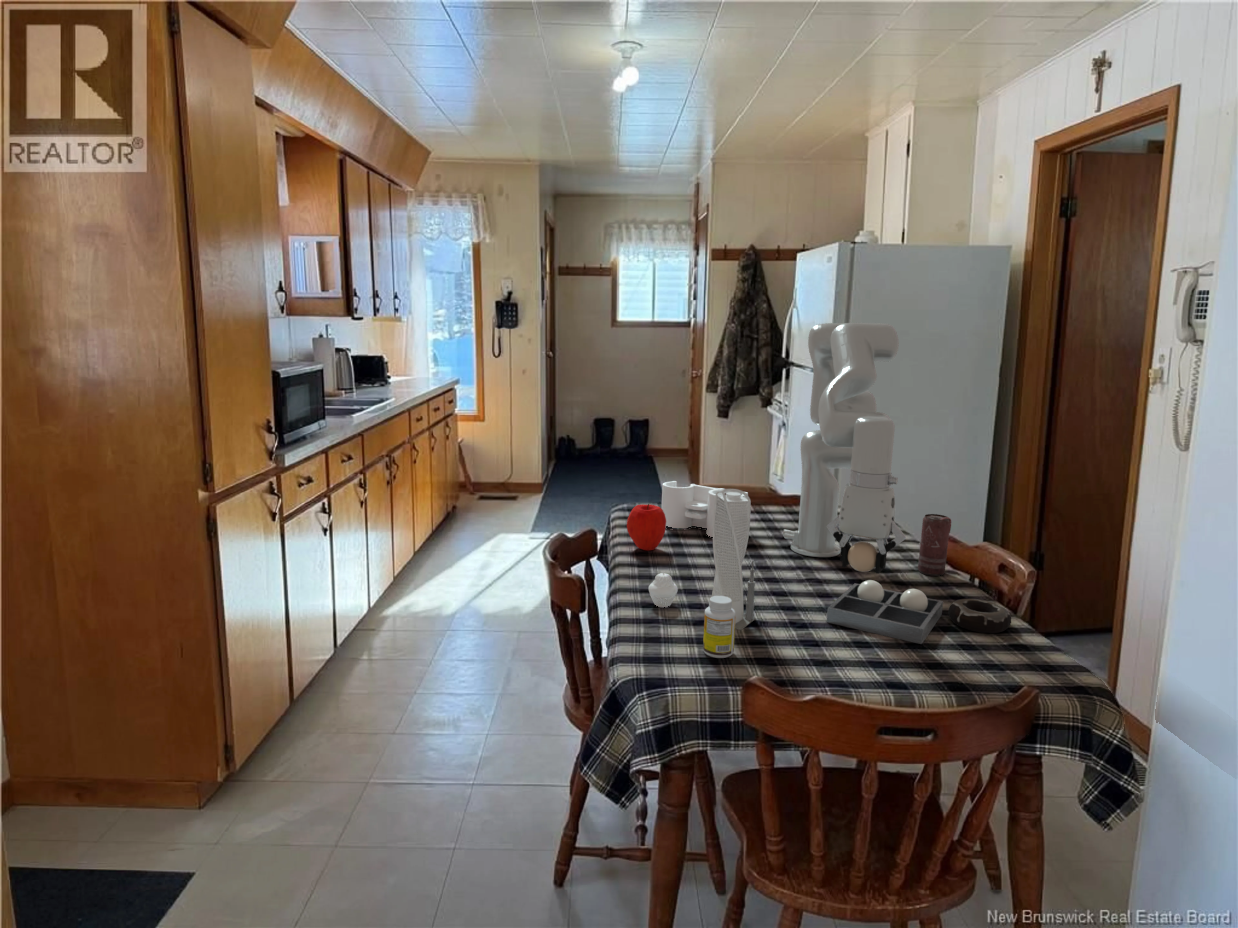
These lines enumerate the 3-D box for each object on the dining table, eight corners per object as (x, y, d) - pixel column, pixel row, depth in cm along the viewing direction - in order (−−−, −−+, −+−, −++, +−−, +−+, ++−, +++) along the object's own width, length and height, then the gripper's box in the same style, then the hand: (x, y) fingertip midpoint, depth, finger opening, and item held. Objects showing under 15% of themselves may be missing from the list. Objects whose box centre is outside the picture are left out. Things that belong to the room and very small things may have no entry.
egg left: (853, 606, 170) (855, 581, 169) (860, 598, 175) (862, 574, 174) (879, 611, 167) (881, 586, 166) (885, 604, 172) (888, 579, 171)
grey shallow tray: (826, 622, 162) (827, 607, 162) (853, 596, 178) (854, 583, 177) (921, 644, 153) (923, 629, 152) (941, 614, 168) (943, 601, 168)
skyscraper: (738, 633, 156) (746, 492, 151) (700, 624, 160) (707, 486, 155) (755, 620, 163) (763, 484, 158) (718, 611, 167) (725, 479, 162)
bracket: (653, 526, 230) (655, 485, 228) (671, 520, 238) (672, 479, 236) (733, 542, 216) (736, 498, 214) (749, 535, 224) (751, 492, 222)
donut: (938, 613, 170) (940, 594, 169) (995, 615, 169) (997, 597, 169) (959, 635, 158) (961, 615, 157) (1020, 637, 158) (1023, 618, 157)
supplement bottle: (713, 643, 150) (716, 591, 148) (739, 652, 147) (742, 599, 145) (696, 652, 146) (699, 599, 144) (722, 662, 143) (725, 607, 141)
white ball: (895, 615, 166) (898, 590, 165) (902, 607, 170) (904, 583, 169) (923, 621, 163) (925, 595, 162) (929, 613, 167) (931, 588, 166)
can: (947, 577, 192) (954, 520, 189) (919, 575, 193) (925, 518, 191) (943, 569, 198) (949, 514, 195) (915, 567, 199) (921, 512, 197)
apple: (620, 551, 205) (622, 505, 203) (634, 541, 214) (636, 497, 212) (657, 557, 202) (659, 509, 199) (670, 546, 211) (672, 501, 208)
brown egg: (851, 564, 166) (853, 536, 165) (881, 570, 163) (883, 541, 161) (842, 571, 161) (844, 542, 160) (872, 577, 158) (875, 548, 156)
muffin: (657, 612, 165) (658, 579, 164) (642, 602, 171) (643, 570, 169) (682, 607, 168) (684, 575, 167) (667, 597, 174) (668, 566, 172)
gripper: (919, 482, 157) (911, 571, 160) (832, 471, 166) (826, 556, 169) (910, 489, 151) (901, 581, 154) (820, 477, 160) (814, 564, 163)
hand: (862, 567), depth 162 cm, fingers closed on brown egg, 5 cm apart
